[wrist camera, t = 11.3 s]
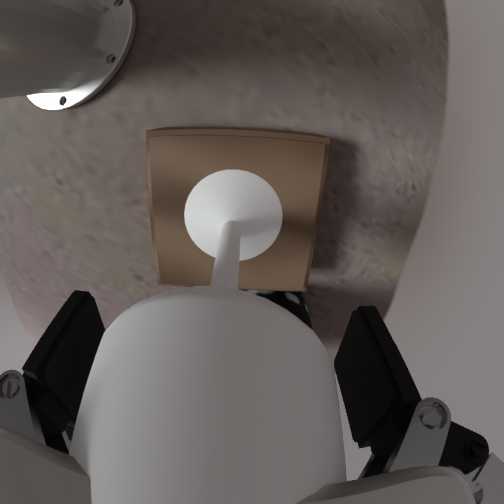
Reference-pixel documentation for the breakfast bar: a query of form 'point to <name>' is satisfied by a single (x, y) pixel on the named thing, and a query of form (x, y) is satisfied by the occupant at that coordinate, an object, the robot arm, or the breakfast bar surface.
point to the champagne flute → (212, 379)
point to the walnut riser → (247, 159)
